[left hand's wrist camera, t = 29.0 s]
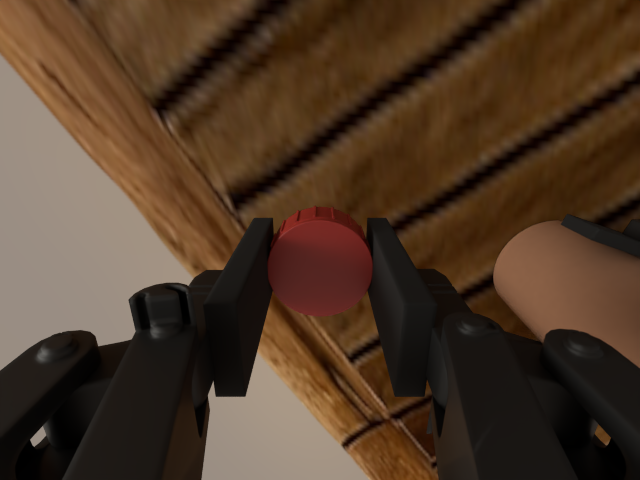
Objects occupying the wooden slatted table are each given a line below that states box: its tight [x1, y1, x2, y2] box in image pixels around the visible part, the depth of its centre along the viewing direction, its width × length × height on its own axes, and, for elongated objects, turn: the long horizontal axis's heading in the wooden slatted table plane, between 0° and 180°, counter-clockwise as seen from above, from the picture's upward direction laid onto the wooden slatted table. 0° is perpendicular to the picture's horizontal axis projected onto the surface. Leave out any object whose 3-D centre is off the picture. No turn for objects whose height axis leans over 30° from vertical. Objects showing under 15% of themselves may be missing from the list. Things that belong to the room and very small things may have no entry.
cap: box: [267, 206, 373, 316], centre depth 13 cm, size 4×4×2 cm
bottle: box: [493, 220, 640, 368], centre depth 20 cm, size 8×8×18 cm
